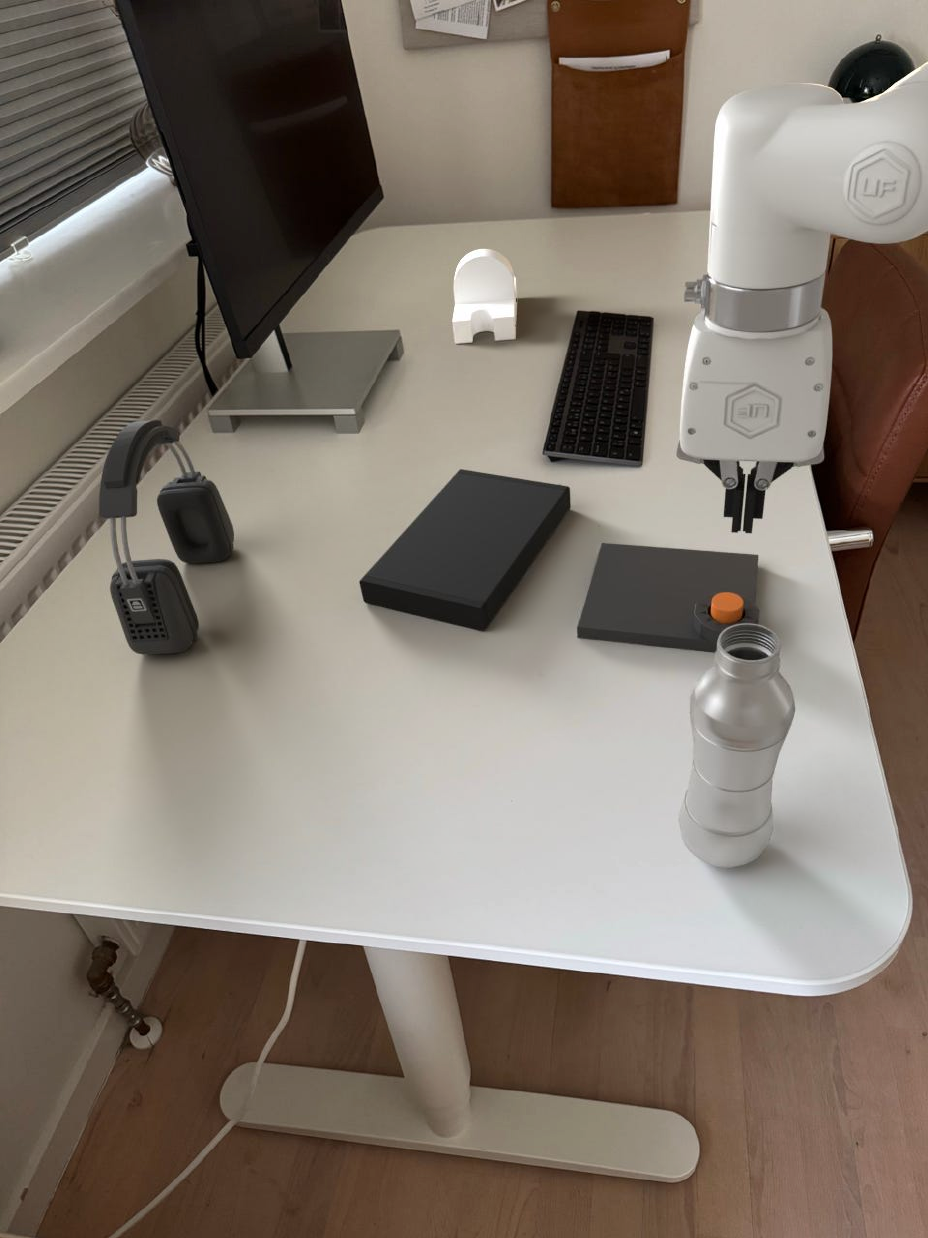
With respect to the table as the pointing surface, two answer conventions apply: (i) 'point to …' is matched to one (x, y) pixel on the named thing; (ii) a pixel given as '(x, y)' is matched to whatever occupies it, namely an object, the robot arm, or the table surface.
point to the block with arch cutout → (484, 297)
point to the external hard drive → (467, 549)
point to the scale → (664, 595)
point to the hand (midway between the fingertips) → (742, 523)
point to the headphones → (194, 524)
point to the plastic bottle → (736, 747)
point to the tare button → (727, 607)
